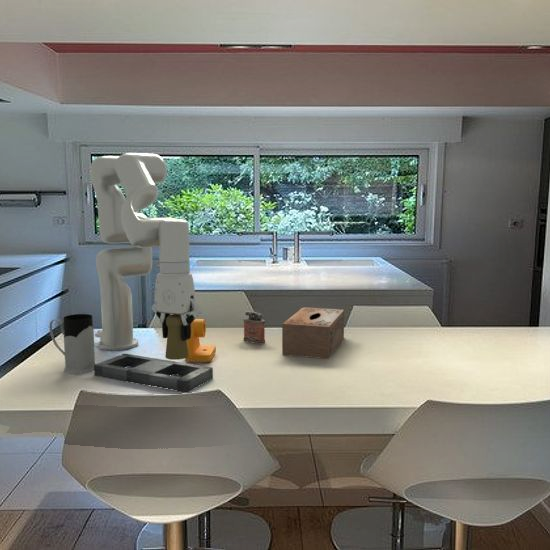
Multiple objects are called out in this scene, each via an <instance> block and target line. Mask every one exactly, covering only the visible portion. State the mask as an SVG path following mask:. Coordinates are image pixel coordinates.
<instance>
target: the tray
mask: <svg viewBox="0 0 550 550" xmlns="http://www.w3.org/2000/svg"><path fill="white" fill-rule="evenodd" d="M129 366H130V367H129ZM125 367H126V368H125ZM93 373H94V374H93V376H94V377H95V376H96V377H101V378H106V379H111V380H117V381H121V382H126V381H128V382H127V383H131V382H133V383H132V384H136V383H138V384H137V385H142V384H145V385H144V386H147V385H151V386H150V387H152V386H157V387H162V388H161V389H163V388H168V389H173V390H177V391H176V392H179V391H181V392H180V393H184V392H187V393H189V392H191V391H193V390H195V389H197V388H198V387H200V386H202V385H204V384H206V383H207V381H208V382H210V381H211V380H213V379H214V368H213V367H211V366H204V365H199V364H192V363H187V362H186V363H185V362H180V361H175V360H174V361H173V360H169V359H161V358H156V357H150V356H149V357H148V356H143V355H142V356H141V355H135V354H130V353H122V354H118V355H117V356H114V357H111V358H109V359H105V360H102V361H101V362H98V363H95V365H94V371H93ZM173 374H174V375H173ZM175 374H178V375H177V376H175ZM170 375H172V376H170ZM180 375H183V376H180ZM205 382H206V383H205ZM203 383H204V384H203ZM201 384H202V385H201ZM199 385H200V386H199ZM157 387H156V388H157ZM196 387H197V388H196ZM194 388H195V389H194ZM168 389H167V390H168ZM173 390H172V391H173Z"/></svg>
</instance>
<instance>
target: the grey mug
mask: <svg viewBox="0 0 550 550" xmlns="http://www.w3.org/2000/svg"><path fill="white" fill-rule="evenodd" d="M54 321H56V322H57V323H58V324H59V326H60V329H61V330H60V331H61V334H62V335H63V346H64V347H63V348H64V350H63V349H62V348H61V346H59V344H58V343H57V341H56V338H55V336H54V333H53V322H54ZM94 332H95V331H94V325H93V315H92V314H88V313H77V314H76V313H75V314H69V315H65V316H63V321H62V320H60V319H57V318H54V319H52V320H50V323H49V334H50V337H51V340H52V342H53V344H54V346H55V347H56V348H57V349H58V350H59V352H61V354H62V355H63V356H64V365H65V367H64V369H63V373H65V374H66V375H75V376H77V375H85V374H90V373H94V365H95V364H96V355H95V333H94Z"/></svg>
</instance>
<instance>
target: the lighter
mask: <svg viewBox="0 0 550 550" xmlns="http://www.w3.org/2000/svg"><path fill="white" fill-rule="evenodd" d="M244 315H245V316H248V317H244V318H243V319H242V320H243V342H246V341H248V342H247V343H251V342H254V343H253V344H258V343H263V344H265V343H266V339H265V336H266V335H265V333H266V332H265V326H266V325H265V324H266V319H263V318H262V317H263V316H262V313H259V312H258V311H254V312H253V311H248V310H247V311H245V314H244Z"/></svg>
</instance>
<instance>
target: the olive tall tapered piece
mask: <svg viewBox="0 0 550 550" xmlns="http://www.w3.org/2000/svg"><path fill="white" fill-rule="evenodd" d="M166 325H167V327H168V336H167V338H166V347H165V357H164V358H166V360H170V361H173V360H174V361H175V360H176V361H177V360H185V358H187V357H189V353H188V347H187V341H186V340H185V341H182V340H181V325H183V322H182V318H181V315H179V314H171V315H169V316H167V318H166Z"/></svg>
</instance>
